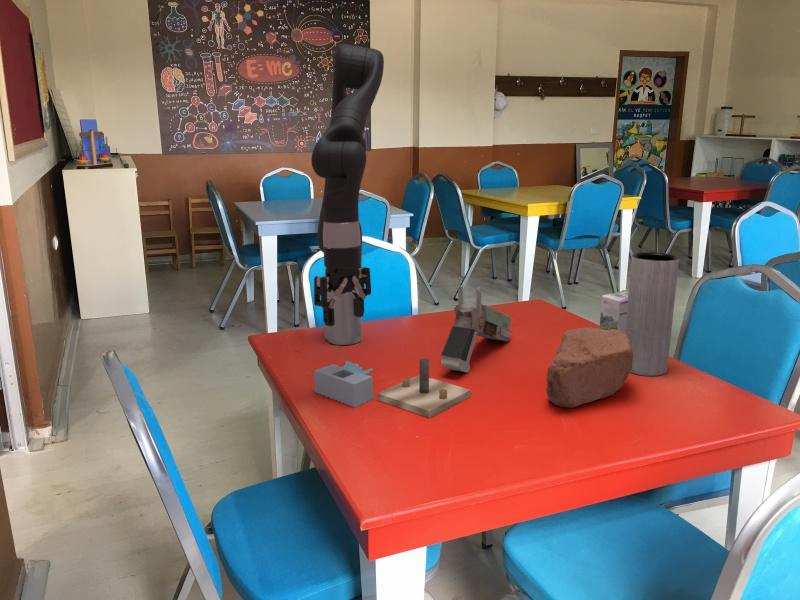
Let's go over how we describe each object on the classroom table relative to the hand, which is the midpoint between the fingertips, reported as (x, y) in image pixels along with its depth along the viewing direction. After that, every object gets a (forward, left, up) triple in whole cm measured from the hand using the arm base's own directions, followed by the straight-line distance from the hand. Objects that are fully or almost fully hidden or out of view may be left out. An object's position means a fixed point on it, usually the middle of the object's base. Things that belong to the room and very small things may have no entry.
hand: (344, 320), depth 136 cm
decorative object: (-10, +10, -17) cm, 22 cm away
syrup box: (+32, +65, -17) cm, 74 cm away
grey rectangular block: (0, 0, -17) cm, 17 cm away
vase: (+43, +57, -17) cm, 73 cm away
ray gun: (+7, +39, -17) cm, 43 cm away
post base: (+14, +10, -17) cm, 23 cm away
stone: (+39, +33, -17) cm, 53 cm away
